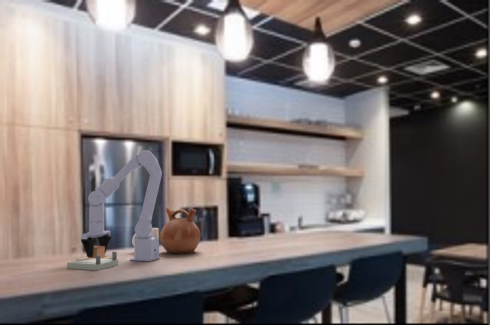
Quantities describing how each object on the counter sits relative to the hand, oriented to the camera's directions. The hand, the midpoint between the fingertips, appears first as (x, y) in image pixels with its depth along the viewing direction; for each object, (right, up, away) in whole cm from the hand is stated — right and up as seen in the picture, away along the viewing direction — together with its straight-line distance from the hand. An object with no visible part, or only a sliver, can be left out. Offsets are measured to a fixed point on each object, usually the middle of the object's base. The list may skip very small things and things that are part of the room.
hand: (96, 255), depth 167 cm
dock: (+3, -1, -12) cm, 12 cm away
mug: (+14, -4, +25) cm, 28 cm away
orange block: (0, -1, 0) cm, 1 cm away
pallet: (0, -2, 0) cm, 2 cm away
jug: (+30, -3, +21) cm, 37 cm away
